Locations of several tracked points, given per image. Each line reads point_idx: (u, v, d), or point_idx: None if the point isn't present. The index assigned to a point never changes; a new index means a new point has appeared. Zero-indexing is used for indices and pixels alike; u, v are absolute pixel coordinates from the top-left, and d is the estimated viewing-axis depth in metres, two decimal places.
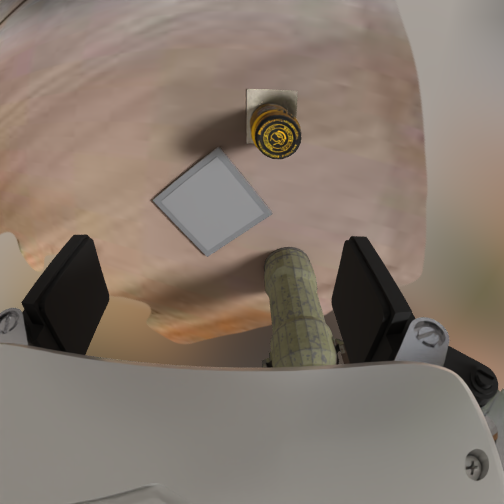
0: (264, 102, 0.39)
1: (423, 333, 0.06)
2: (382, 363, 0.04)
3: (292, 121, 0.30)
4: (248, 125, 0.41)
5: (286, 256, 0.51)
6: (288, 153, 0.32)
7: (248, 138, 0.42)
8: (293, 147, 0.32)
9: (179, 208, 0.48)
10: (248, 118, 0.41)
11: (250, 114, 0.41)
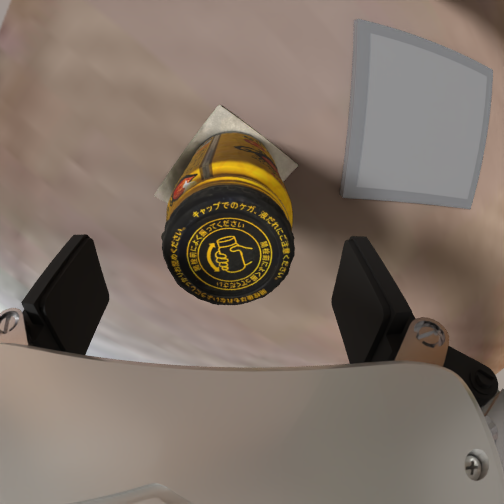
0: None
1: (423, 333, 0.06)
2: (382, 363, 0.04)
3: (169, 269, 0.12)
4: None
5: None
6: (230, 205, 0.10)
7: (288, 170, 0.22)
8: (205, 212, 0.10)
9: (463, 168, 0.20)
10: None
11: None
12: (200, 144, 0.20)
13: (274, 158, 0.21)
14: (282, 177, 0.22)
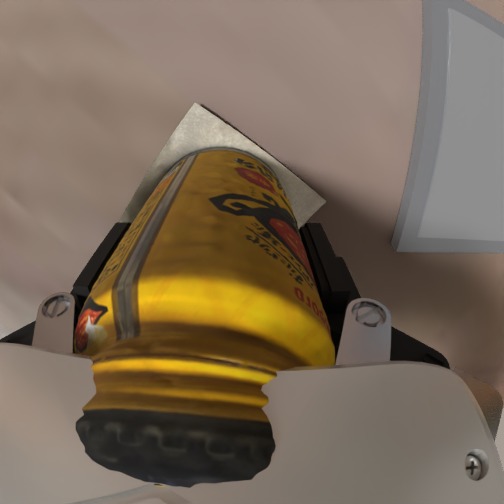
0: None
1: (362, 314, 0.07)
2: (382, 363, 0.04)
3: None
4: None
5: None
6: None
7: (310, 209, 0.14)
8: None
9: None
10: None
11: None
12: (167, 169, 0.12)
13: (288, 190, 0.13)
14: (300, 219, 0.14)
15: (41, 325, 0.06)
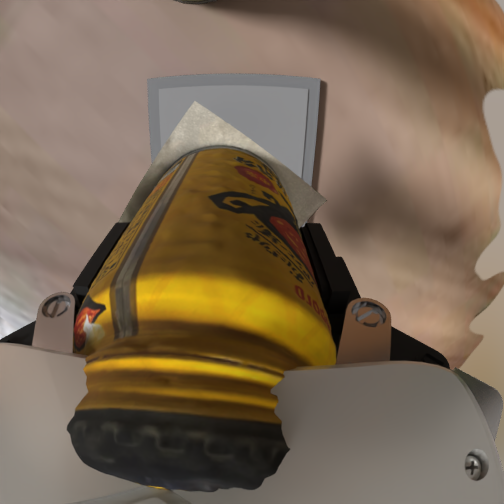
0: None
1: (362, 314, 0.07)
2: (382, 363, 0.04)
3: None
4: None
5: None
6: None
7: (310, 207, 0.14)
8: None
9: None
10: None
11: None
12: (167, 168, 0.12)
13: (288, 189, 0.13)
14: (300, 218, 0.14)
15: (41, 325, 0.06)
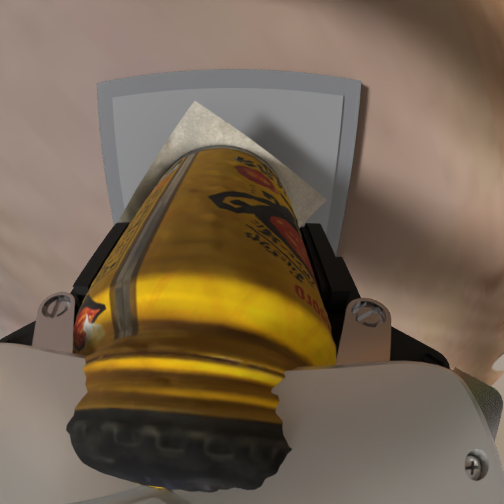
0: None
1: (362, 314, 0.07)
2: (382, 363, 0.04)
3: None
4: None
5: None
6: None
7: (311, 207, 0.14)
8: None
9: None
10: None
11: None
12: (167, 168, 0.12)
13: (289, 189, 0.13)
14: (300, 218, 0.14)
15: (41, 325, 0.06)
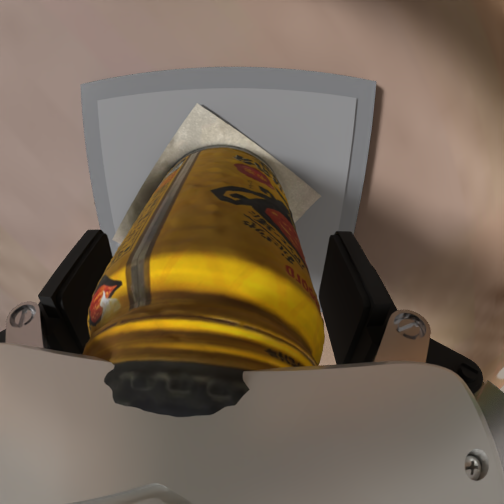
0: None
1: (403, 325, 0.07)
2: (382, 363, 0.04)
3: None
4: None
5: None
6: None
7: (306, 203, 0.14)
8: None
9: None
10: None
11: None
12: (171, 166, 0.13)
13: (285, 185, 0.14)
14: (296, 213, 0.15)
15: (7, 334, 0.05)
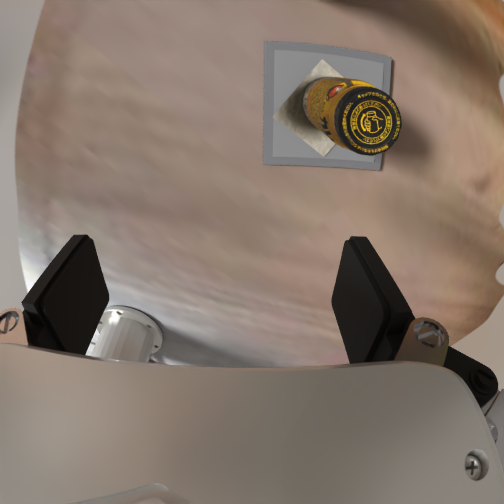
0: (318, 129, 0.30)
1: (423, 333, 0.06)
2: (382, 363, 0.04)
3: (338, 128, 0.19)
4: None
5: None
6: (375, 94, 0.17)
7: None
8: (364, 96, 0.17)
9: None
10: None
11: None
12: (308, 83, 0.27)
13: None
14: None
15: None
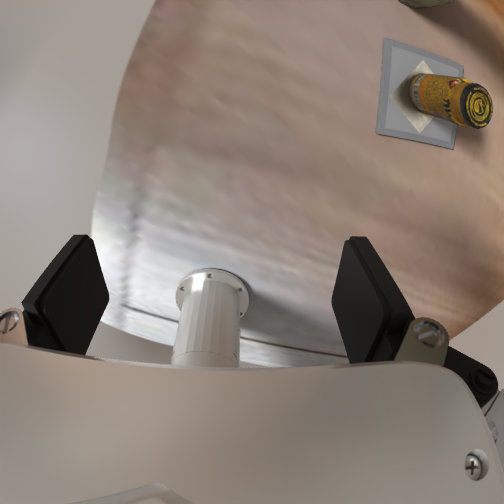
0: (417, 111, 0.33)
1: (423, 333, 0.06)
2: (382, 363, 0.04)
3: (463, 106, 0.22)
4: None
5: None
6: (482, 89, 0.20)
7: None
8: (477, 89, 0.21)
9: (445, 122, 0.34)
10: None
11: None
12: (413, 76, 0.30)
13: None
14: None
15: None
